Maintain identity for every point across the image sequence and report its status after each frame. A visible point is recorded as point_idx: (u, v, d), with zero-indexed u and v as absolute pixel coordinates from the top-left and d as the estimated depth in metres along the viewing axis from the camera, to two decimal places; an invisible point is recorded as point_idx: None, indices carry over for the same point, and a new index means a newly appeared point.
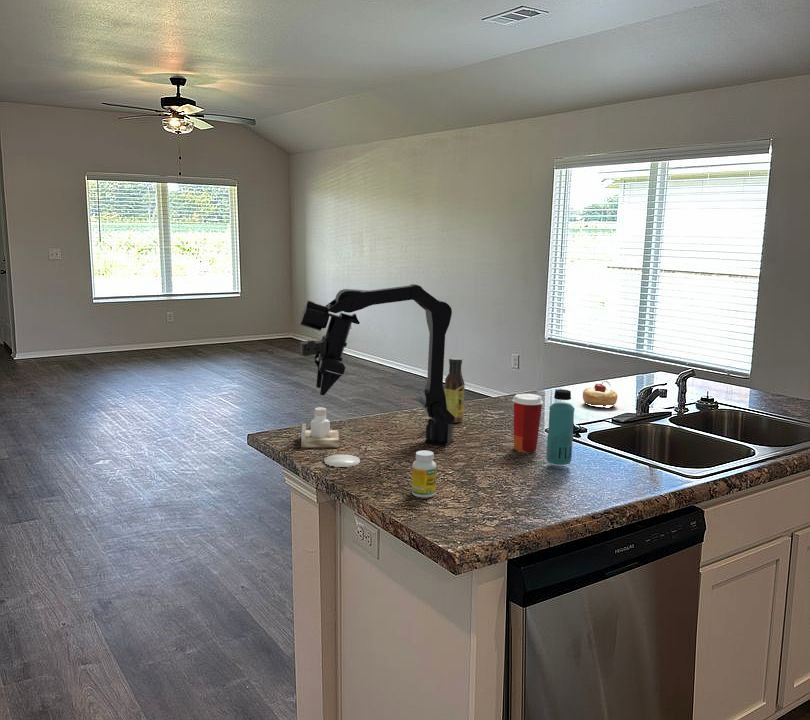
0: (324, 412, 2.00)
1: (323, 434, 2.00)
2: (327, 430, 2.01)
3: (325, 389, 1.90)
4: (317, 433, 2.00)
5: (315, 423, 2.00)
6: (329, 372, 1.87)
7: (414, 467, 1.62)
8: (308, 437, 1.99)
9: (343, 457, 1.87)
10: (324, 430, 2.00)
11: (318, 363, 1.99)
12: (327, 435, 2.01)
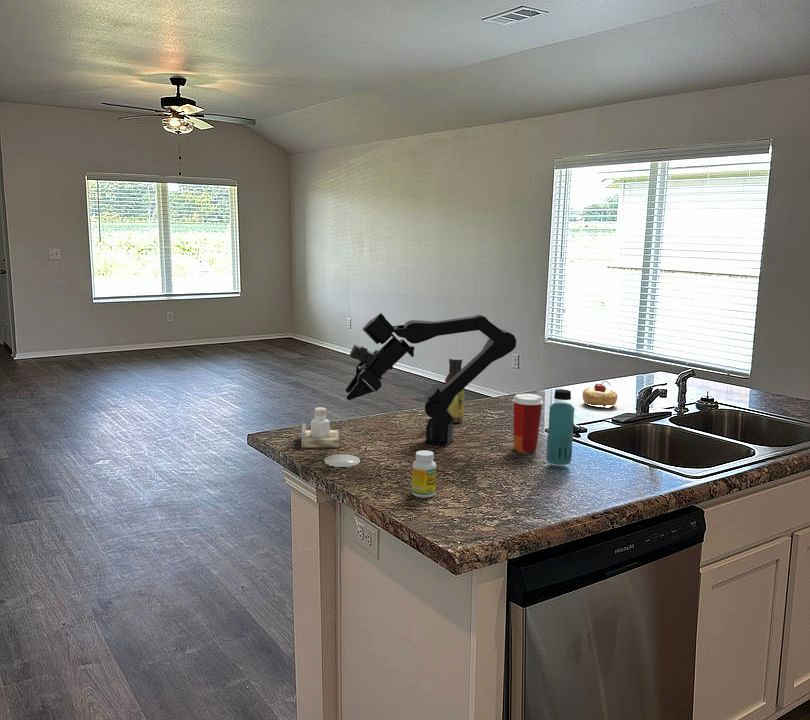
0: (324, 412, 2.00)
1: (323, 434, 2.00)
2: (327, 430, 2.01)
3: (353, 395, 1.96)
4: (317, 433, 2.00)
5: (315, 423, 2.00)
6: (365, 383, 1.93)
7: (414, 467, 1.62)
8: (308, 437, 1.99)
9: (343, 457, 1.87)
10: (324, 430, 2.00)
11: (358, 371, 2.05)
12: (327, 435, 2.01)
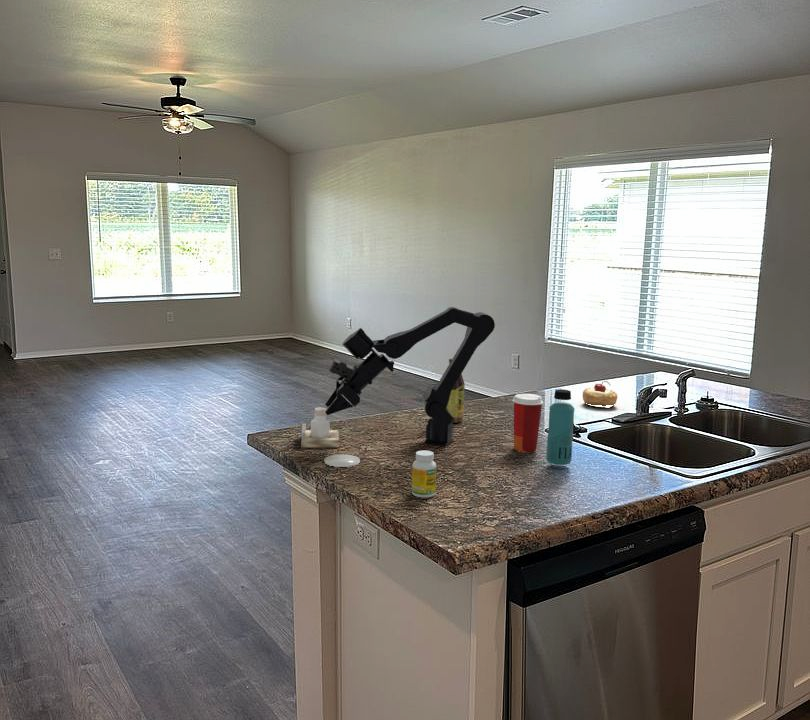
0: (324, 412, 2.00)
1: (323, 434, 2.00)
2: (327, 430, 2.01)
3: (332, 410, 1.96)
4: (317, 433, 2.00)
5: (315, 423, 2.00)
6: (344, 398, 1.93)
7: (414, 467, 1.62)
8: (308, 437, 1.99)
9: (343, 457, 1.87)
10: (324, 430, 2.00)
11: (338, 385, 2.05)
12: (327, 435, 2.01)
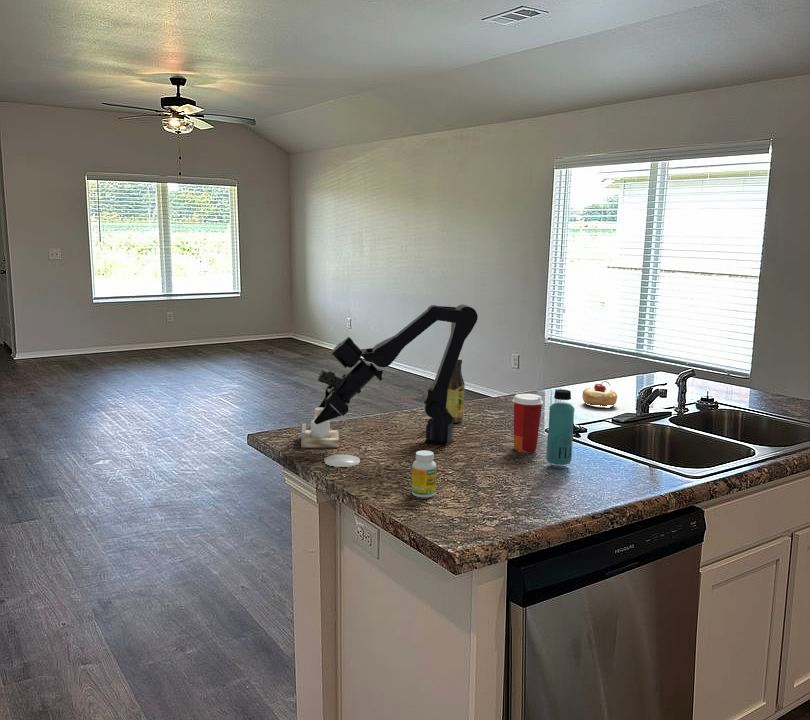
0: None
1: (323, 434, 2.00)
2: (327, 430, 2.01)
3: (320, 419, 1.96)
4: (317, 433, 2.00)
5: (315, 424, 2.00)
6: (332, 407, 1.93)
7: (414, 467, 1.62)
8: (308, 437, 1.99)
9: (343, 457, 1.87)
10: (324, 430, 2.00)
11: (327, 394, 2.05)
12: (327, 435, 2.01)
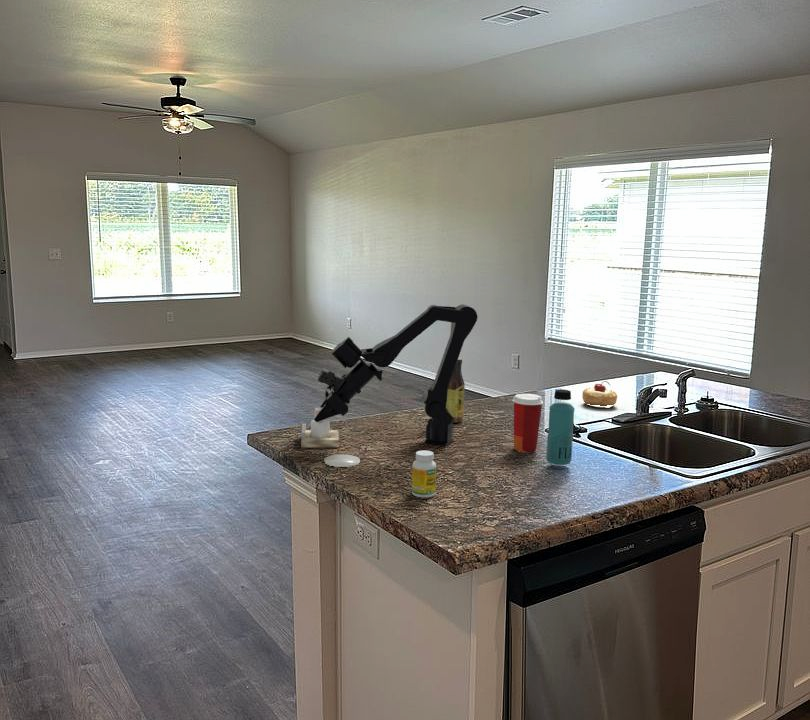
0: None
1: (323, 434, 2.00)
2: (327, 430, 2.01)
3: (320, 417, 1.98)
4: (317, 433, 2.00)
5: (315, 423, 2.00)
6: (332, 405, 1.95)
7: (414, 467, 1.62)
8: (308, 437, 1.99)
9: (343, 457, 1.87)
10: (324, 430, 2.00)
11: (327, 396, 2.03)
12: (327, 435, 2.01)
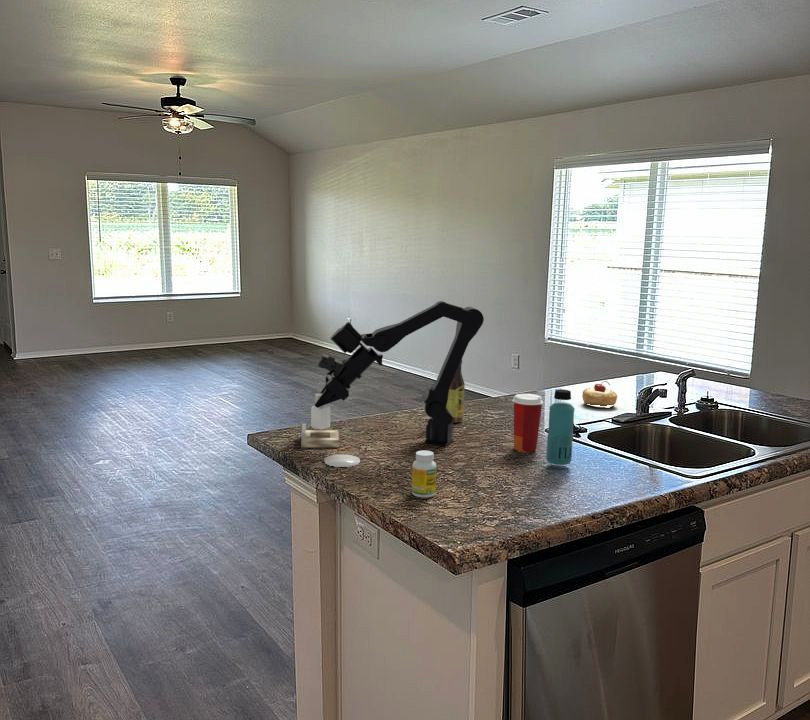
0: None
1: (324, 420, 1.99)
2: (327, 416, 2.00)
3: (321, 403, 1.98)
4: (317, 419, 1.99)
5: (315, 409, 1.99)
6: (332, 390, 1.95)
7: (414, 467, 1.62)
8: (308, 437, 1.99)
9: (343, 457, 1.87)
10: (325, 415, 1.99)
11: (327, 382, 2.02)
12: (327, 421, 2.01)
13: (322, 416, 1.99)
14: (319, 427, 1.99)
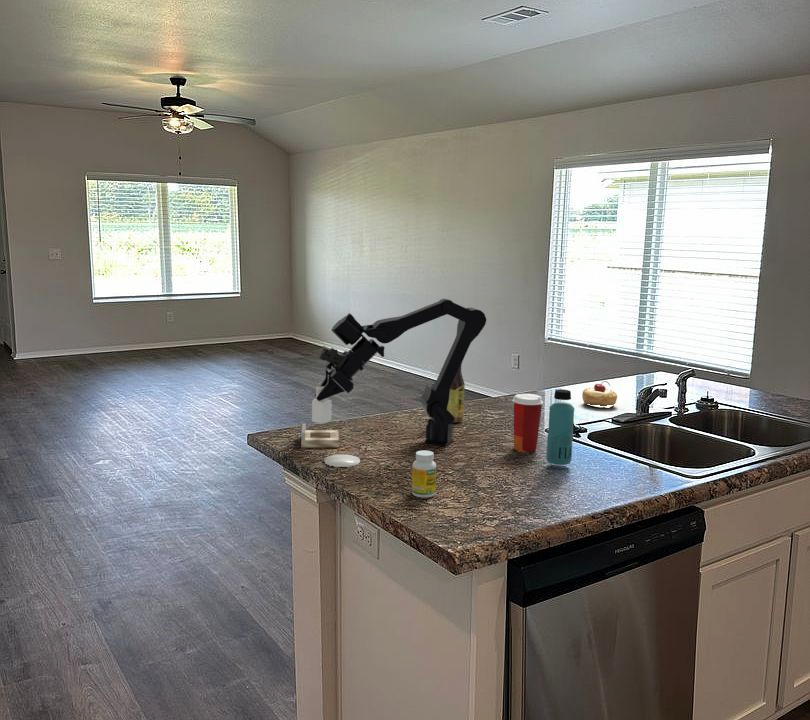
0: None
1: (325, 414, 1.96)
2: (329, 409, 1.97)
3: (323, 396, 1.94)
4: (319, 412, 1.95)
5: (317, 403, 1.95)
6: (336, 383, 1.91)
7: (414, 467, 1.62)
8: (308, 437, 1.99)
9: (343, 457, 1.87)
10: (326, 409, 1.96)
11: (328, 374, 1.99)
12: (329, 414, 1.97)
13: (324, 409, 1.95)
14: (321, 421, 1.95)
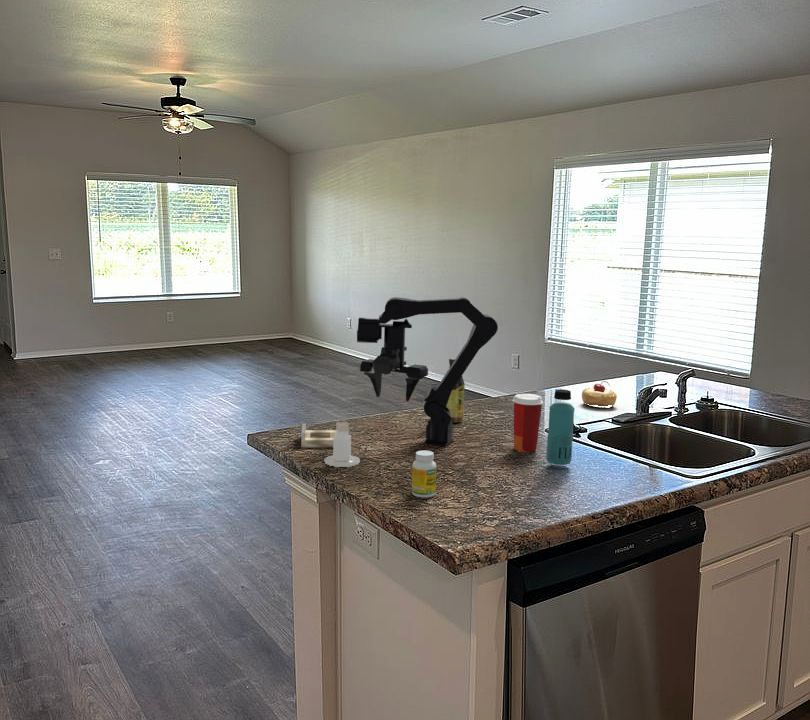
0: (348, 426, 1.83)
1: (349, 450, 1.84)
2: (350, 445, 1.85)
3: (410, 394, 2.01)
4: (344, 450, 1.83)
5: (341, 440, 1.82)
6: (418, 378, 1.99)
7: (414, 467, 1.62)
8: (308, 437, 1.99)
9: None
10: (349, 445, 1.84)
11: (374, 375, 2.03)
12: (350, 451, 1.85)
13: (349, 446, 1.83)
14: (346, 459, 1.83)
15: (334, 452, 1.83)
